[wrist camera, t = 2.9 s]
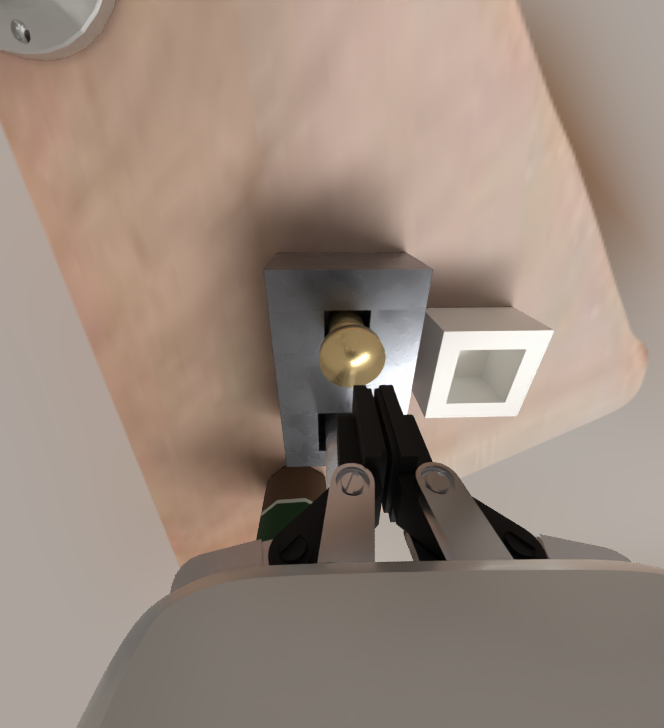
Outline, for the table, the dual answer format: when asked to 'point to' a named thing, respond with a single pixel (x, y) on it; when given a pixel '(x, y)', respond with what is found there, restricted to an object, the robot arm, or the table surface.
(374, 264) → the socket block
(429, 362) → the holder
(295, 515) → the beer bottle
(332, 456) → the silver rounded peg
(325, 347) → the key
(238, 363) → the table surface
